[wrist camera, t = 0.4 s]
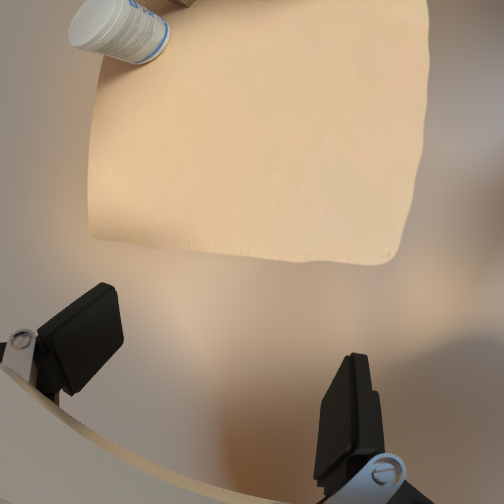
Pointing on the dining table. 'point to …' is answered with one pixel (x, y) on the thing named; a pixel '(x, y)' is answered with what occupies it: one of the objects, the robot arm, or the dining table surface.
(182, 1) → the walnut block
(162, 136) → the dining table surface
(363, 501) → the robot arm
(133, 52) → the supplement tub
